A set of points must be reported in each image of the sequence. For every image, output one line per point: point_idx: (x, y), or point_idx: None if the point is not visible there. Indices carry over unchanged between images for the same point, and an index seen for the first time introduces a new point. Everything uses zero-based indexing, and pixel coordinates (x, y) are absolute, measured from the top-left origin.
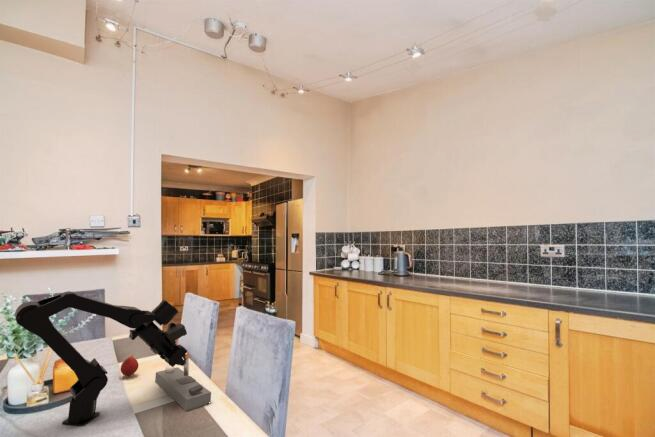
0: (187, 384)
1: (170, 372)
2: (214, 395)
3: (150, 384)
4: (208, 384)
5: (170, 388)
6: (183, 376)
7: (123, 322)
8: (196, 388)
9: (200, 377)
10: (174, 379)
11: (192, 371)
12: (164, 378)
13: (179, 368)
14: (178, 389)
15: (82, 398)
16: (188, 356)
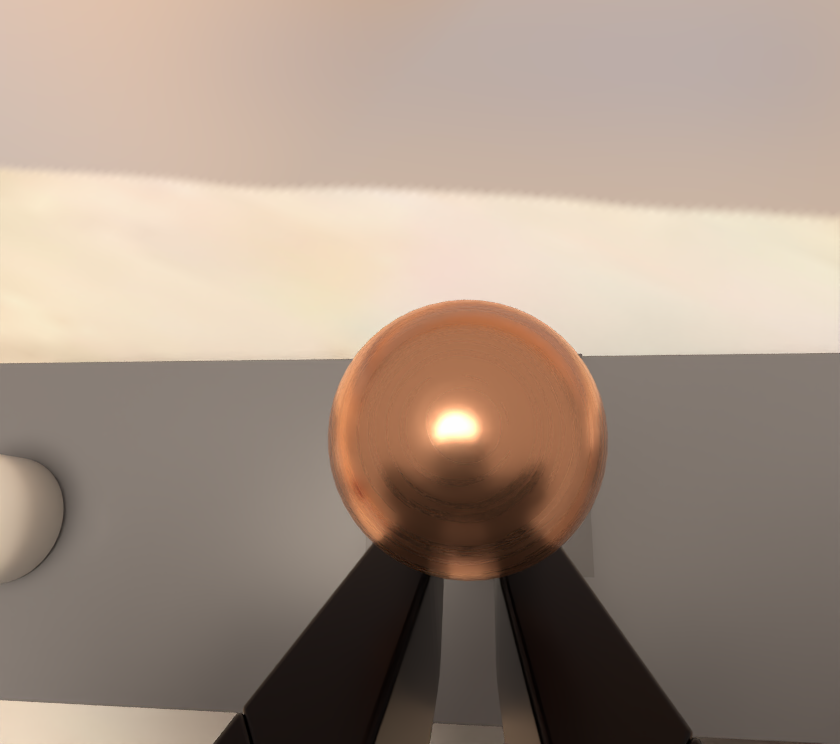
0: (631, 504)
1: (56, 529)
2: (795, 269)
3: (23, 739)
4: (476, 210)
5: None
6: (311, 433)
7: None
8: None
9: (248, 207)
10: (330, 584)
11: (43, 212)
12: (193, 693)
13: (7, 364)
14: (747, 699)
15: None
16: (597, 396)
